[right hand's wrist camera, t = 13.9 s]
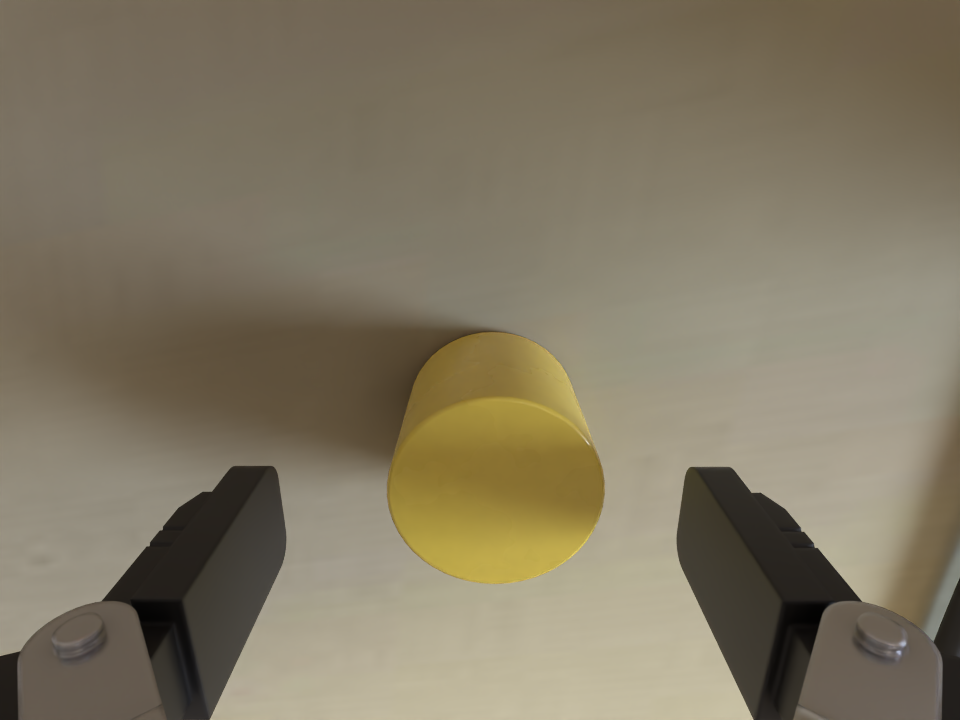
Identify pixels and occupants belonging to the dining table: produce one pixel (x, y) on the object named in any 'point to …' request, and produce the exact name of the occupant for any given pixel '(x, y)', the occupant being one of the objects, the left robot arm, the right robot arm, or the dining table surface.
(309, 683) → the dining table surface
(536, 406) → the cylinder
